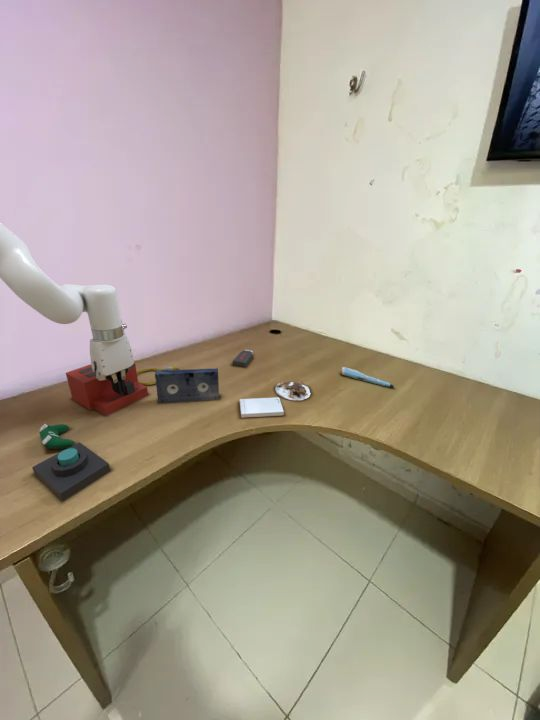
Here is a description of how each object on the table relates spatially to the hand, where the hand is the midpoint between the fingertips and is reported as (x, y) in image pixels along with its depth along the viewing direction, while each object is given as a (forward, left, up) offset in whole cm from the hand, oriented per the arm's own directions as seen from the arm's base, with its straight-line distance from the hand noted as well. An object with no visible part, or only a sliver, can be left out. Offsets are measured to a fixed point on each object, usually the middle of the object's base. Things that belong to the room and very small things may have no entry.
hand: (119, 391), depth 90 cm
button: (+15, -22, -1) cm, 27 cm away
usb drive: (+9, +47, -5) cm, 48 cm away
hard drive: (+34, +23, -5) cm, 42 cm away
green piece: (+2, -19, -5) cm, 20 cm away
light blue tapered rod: (+54, +61, -5) cm, 82 cm away
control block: (+15, -22, -5) cm, 27 cm away
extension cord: (-6, +17, -5) cm, 19 cm away
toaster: (-7, +1, -5) cm, 8 cm away
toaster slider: (0, +3, -2) cm, 3 cm away
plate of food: (+37, +38, -5) cm, 54 cm away
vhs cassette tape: (+13, +14, -5) cm, 20 cm away
